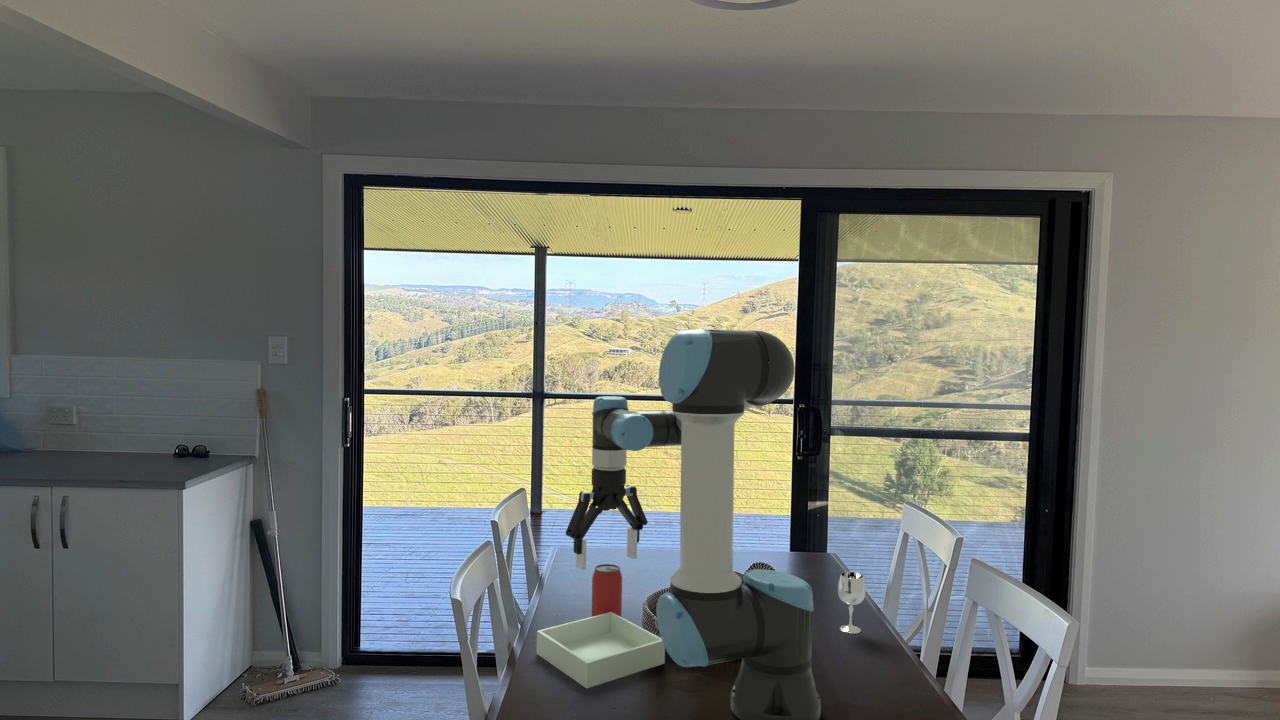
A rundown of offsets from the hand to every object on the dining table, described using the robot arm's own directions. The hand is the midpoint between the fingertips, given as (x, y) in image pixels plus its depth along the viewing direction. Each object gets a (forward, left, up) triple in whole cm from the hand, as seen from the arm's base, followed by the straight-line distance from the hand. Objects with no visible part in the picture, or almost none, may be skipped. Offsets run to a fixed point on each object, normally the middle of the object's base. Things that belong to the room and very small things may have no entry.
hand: (606, 562), depth 170 cm
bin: (-15, +12, -13) cm, 23 cm away
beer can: (0, 0, -13) cm, 13 cm away
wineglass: (-34, -41, -13) cm, 55 cm away
